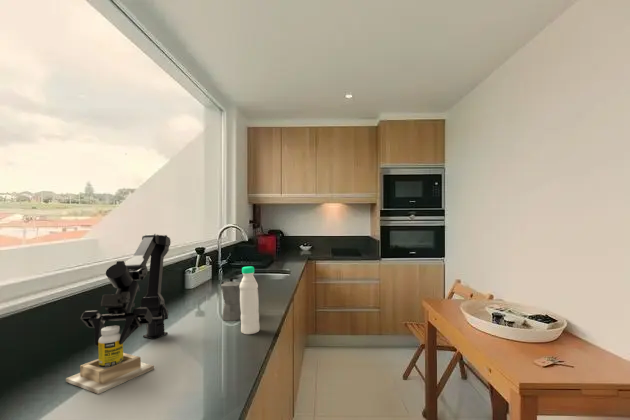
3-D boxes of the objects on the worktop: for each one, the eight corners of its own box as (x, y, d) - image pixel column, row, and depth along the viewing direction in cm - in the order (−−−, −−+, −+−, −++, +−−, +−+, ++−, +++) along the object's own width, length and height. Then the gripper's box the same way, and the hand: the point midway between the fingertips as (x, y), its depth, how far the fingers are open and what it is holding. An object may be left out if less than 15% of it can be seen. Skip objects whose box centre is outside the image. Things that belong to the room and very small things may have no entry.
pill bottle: (103, 372, 96) (102, 332, 96) (95, 367, 100) (94, 329, 100) (127, 364, 101) (126, 326, 101) (118, 359, 105) (117, 323, 105)
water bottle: (242, 329, 137) (239, 266, 137) (260, 328, 137) (257, 265, 138) (239, 335, 130) (237, 268, 130) (258, 334, 130) (256, 267, 131)
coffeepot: (249, 318, 152) (248, 277, 152) (230, 323, 146) (229, 280, 146) (231, 312, 163) (230, 274, 164) (213, 316, 157) (211, 277, 157)
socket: (66, 381, 97) (65, 367, 97) (121, 360, 111) (121, 347, 111) (98, 394, 89) (97, 378, 89) (153, 369, 103) (153, 355, 103)
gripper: (83, 284, 104) (60, 333, 93) (147, 280, 105) (132, 329, 94) (98, 303, 111) (78, 351, 100) (158, 300, 113) (145, 347, 102)
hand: (108, 344), depth 99 cm, fingers closed on pill bottle, 6 cm apart
